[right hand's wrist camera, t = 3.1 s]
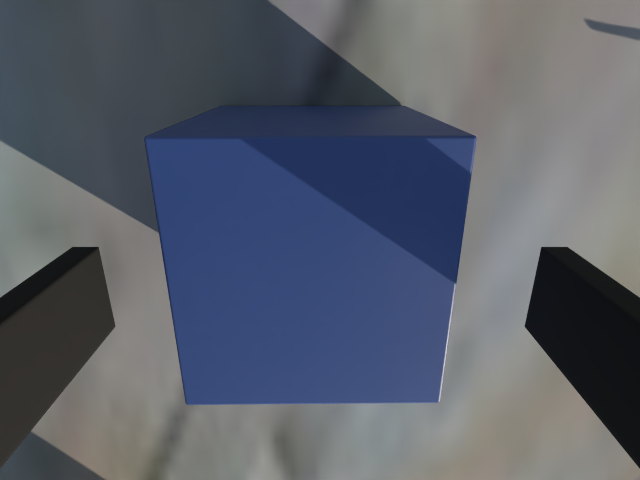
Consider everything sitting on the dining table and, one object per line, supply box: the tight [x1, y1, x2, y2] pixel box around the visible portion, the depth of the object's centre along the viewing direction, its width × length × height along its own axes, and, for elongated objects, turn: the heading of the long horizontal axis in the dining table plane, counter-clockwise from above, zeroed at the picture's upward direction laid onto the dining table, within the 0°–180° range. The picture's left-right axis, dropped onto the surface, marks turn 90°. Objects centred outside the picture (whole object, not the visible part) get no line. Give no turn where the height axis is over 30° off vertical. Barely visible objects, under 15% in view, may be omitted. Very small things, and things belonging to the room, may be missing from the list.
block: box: [144, 106, 476, 405], centre depth 16 cm, size 8×9×9 cm
